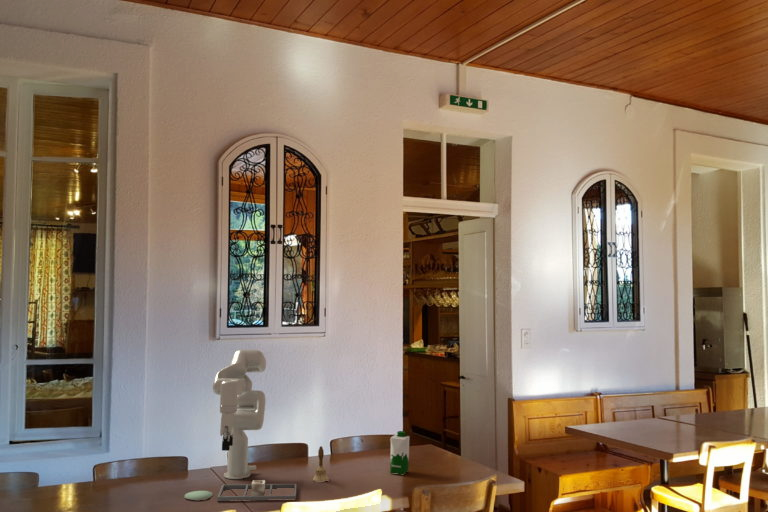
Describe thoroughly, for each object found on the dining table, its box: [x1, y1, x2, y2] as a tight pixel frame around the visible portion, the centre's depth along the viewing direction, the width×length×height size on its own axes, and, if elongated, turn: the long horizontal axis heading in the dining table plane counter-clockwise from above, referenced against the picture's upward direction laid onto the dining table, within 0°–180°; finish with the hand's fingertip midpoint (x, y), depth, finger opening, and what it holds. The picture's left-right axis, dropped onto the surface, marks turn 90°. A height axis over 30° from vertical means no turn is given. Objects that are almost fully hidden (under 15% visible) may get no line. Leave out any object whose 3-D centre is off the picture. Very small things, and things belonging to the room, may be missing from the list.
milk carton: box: [389, 430, 411, 474], centre depth 348 cm, size 9×9×20 cm
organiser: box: [216, 483, 297, 502], centre depth 308 cm, size 33×18×2 cm, turn 96°
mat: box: [184, 490, 214, 500], centre depth 305 cm, size 12×12×1 cm
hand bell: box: [312, 446, 330, 481], centre depth 333 cm, size 8×8×16 cm
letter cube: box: [251, 479, 266, 496], centre depth 308 cm, size 6×6×6 cm
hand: (227, 447), depth 309 cm, fingers open, 9 cm apart
